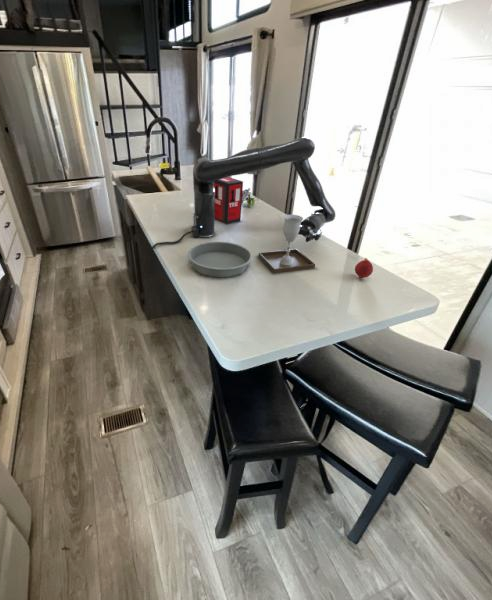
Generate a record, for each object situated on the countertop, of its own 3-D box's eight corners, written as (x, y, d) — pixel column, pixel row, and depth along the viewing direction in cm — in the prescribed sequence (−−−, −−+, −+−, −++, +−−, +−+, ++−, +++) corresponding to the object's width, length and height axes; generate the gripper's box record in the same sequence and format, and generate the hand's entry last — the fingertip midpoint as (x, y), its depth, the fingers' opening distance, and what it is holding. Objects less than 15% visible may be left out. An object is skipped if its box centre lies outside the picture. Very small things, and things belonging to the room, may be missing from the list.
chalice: (275, 258, 128) (281, 214, 119) (291, 257, 129) (299, 214, 119) (280, 266, 122) (287, 221, 112) (297, 266, 123) (305, 220, 113)
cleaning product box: (208, 215, 174) (209, 177, 163) (221, 212, 178) (223, 175, 167) (226, 224, 162) (228, 183, 151) (240, 221, 166) (243, 181, 156)
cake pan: (206, 285, 110) (206, 274, 108) (178, 258, 128) (177, 247, 126) (264, 271, 120) (265, 260, 117) (230, 247, 138) (231, 237, 136)
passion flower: (239, 214, 193) (232, 195, 193) (254, 209, 196) (248, 190, 195) (245, 208, 182) (238, 188, 182) (261, 202, 185) (254, 183, 184)
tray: (273, 273, 118) (274, 269, 117) (258, 256, 130) (258, 252, 129) (314, 268, 122) (315, 264, 121) (295, 252, 134) (296, 248, 133)
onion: (369, 276, 117) (375, 256, 113) (370, 283, 113) (377, 263, 108) (352, 273, 119) (357, 253, 114) (352, 280, 114) (358, 260, 110)
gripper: (296, 214, 138) (281, 224, 127) (329, 220, 132) (315, 231, 121) (293, 230, 143) (278, 241, 131) (325, 237, 136) (312, 250, 125)
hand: (296, 237), depth 126 cm, fingers open, 8 cm apart
